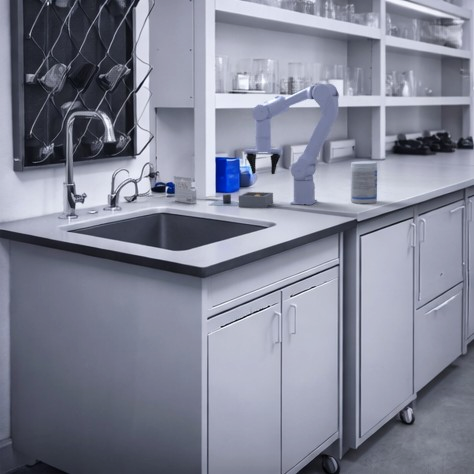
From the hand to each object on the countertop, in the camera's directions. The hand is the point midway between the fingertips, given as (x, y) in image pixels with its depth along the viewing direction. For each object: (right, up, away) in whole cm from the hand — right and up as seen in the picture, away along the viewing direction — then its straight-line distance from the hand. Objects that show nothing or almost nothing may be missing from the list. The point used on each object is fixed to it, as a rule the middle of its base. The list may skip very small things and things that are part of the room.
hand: (263, 173), depth 256 cm
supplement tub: (+37, -11, -6) cm, 39 cm away
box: (-3, -12, -7) cm, 14 cm away
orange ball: (-2, -10, -5) cm, 11 cm away
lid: (-14, -12, -1) cm, 18 cm away
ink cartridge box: (-30, -11, +5) cm, 32 cm away
